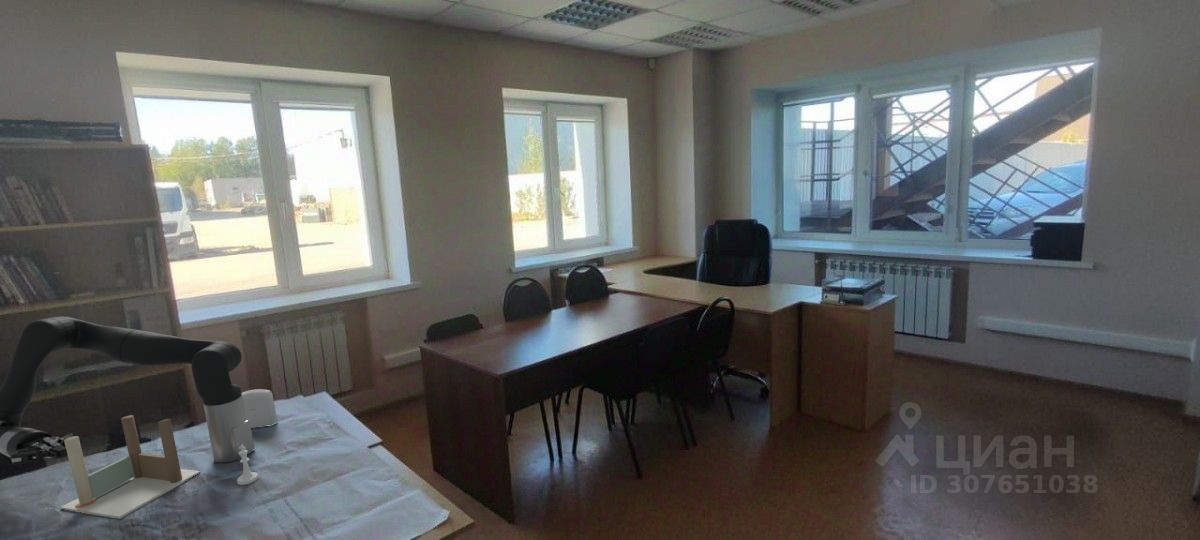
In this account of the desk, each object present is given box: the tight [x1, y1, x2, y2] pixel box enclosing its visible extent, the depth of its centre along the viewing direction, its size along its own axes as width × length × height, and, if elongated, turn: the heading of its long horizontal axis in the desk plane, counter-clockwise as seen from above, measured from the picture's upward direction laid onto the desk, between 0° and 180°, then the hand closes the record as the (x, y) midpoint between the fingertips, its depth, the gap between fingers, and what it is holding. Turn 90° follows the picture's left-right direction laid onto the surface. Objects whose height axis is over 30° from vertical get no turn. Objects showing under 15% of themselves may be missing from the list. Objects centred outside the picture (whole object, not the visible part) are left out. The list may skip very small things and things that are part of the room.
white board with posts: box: [60, 414, 201, 520], centre depth 144 cm, size 20×20×18 cm
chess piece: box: [236, 445, 260, 486], centre depth 148 cm, size 5×5×10 cm
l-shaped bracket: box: [64, 435, 135, 505], centre depth 143 cm, size 13×3×17 cm, turn 166°
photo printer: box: [241, 388, 278, 429], centre depth 180 cm, size 10×4×12 cm, turn 100°
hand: (64, 453), depth 139 cm, fingers closed
